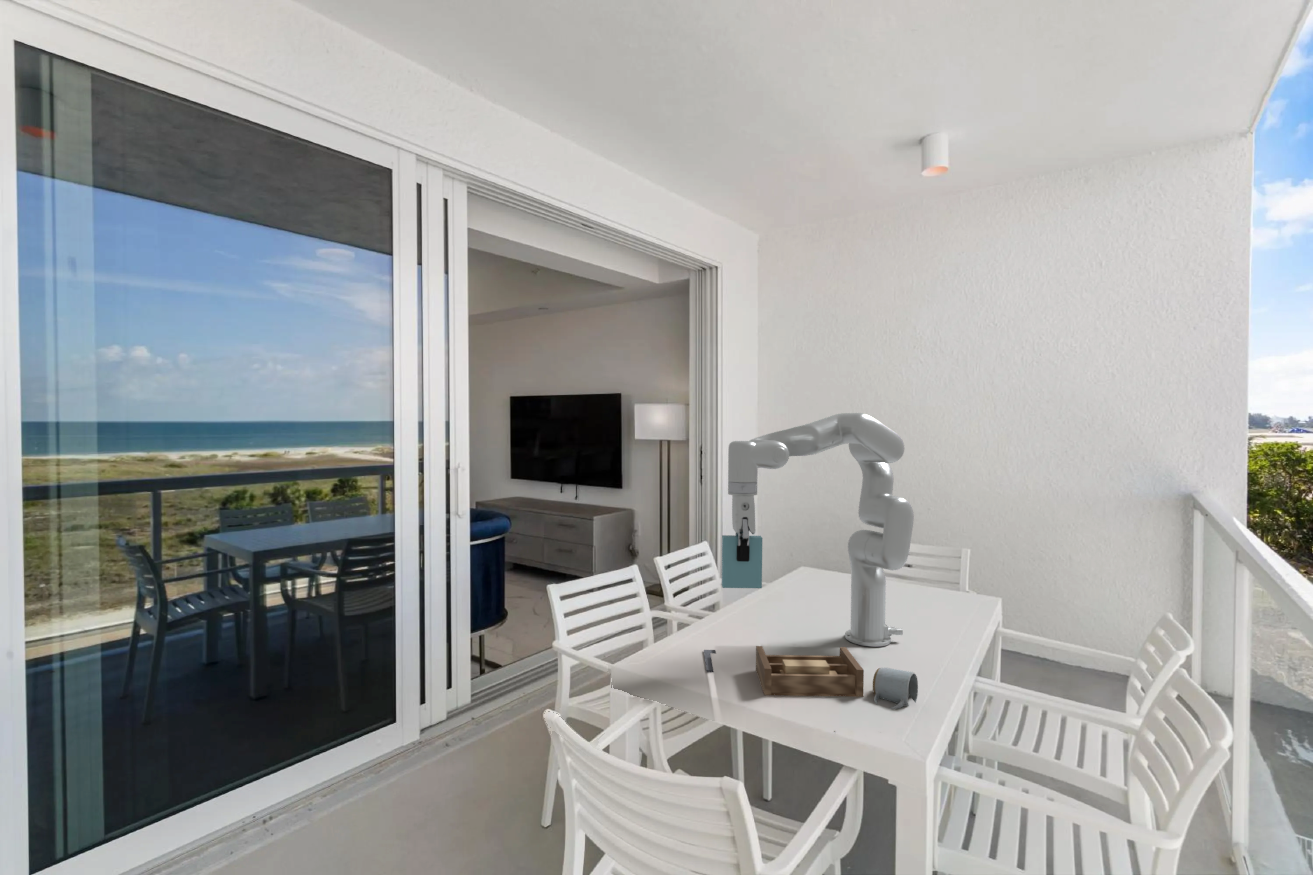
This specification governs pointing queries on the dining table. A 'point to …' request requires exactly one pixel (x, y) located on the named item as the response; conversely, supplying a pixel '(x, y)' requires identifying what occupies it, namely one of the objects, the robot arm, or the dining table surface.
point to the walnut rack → (810, 676)
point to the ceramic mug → (895, 686)
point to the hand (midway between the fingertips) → (741, 558)
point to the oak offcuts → (806, 667)
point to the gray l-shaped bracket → (709, 660)
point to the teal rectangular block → (741, 563)
